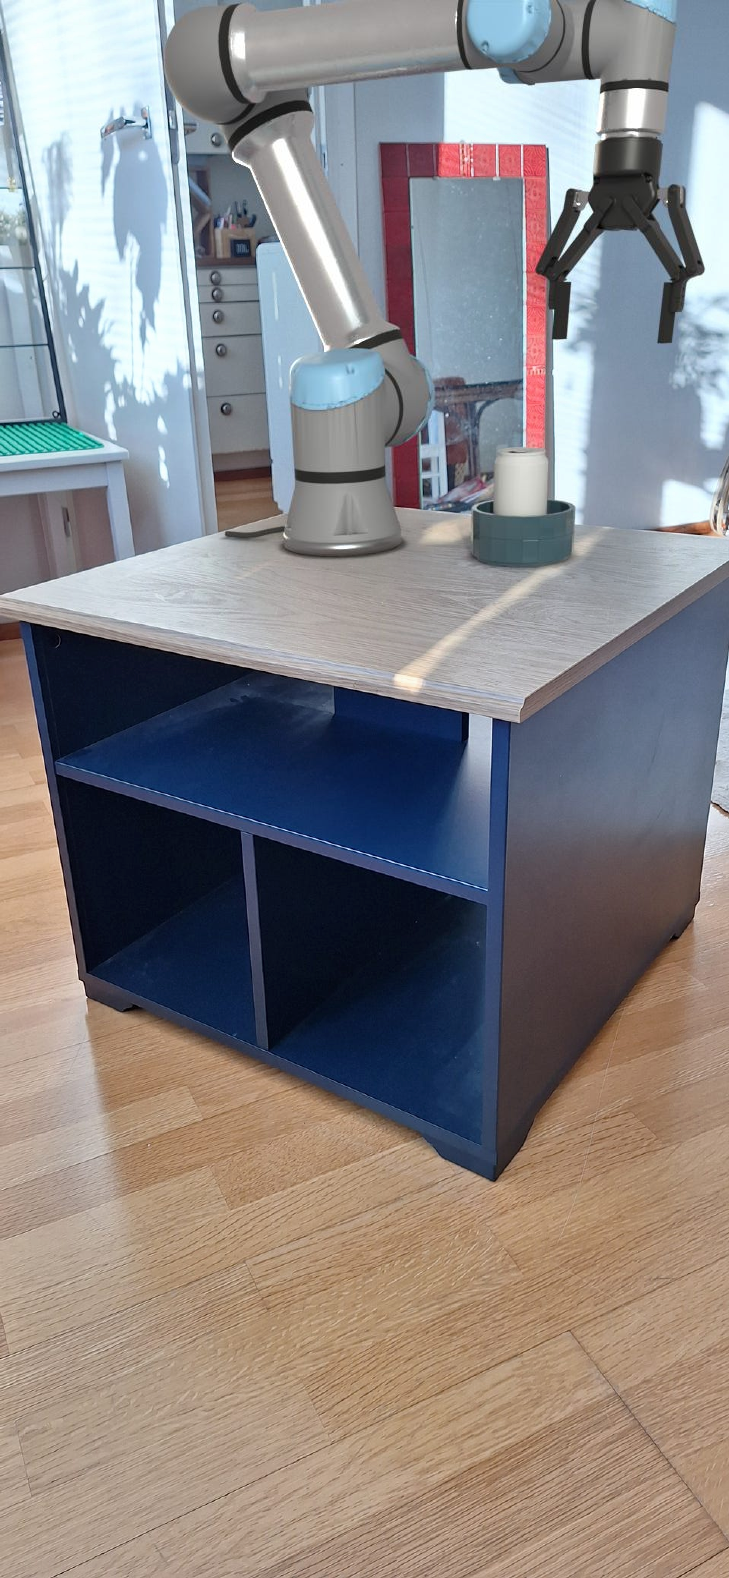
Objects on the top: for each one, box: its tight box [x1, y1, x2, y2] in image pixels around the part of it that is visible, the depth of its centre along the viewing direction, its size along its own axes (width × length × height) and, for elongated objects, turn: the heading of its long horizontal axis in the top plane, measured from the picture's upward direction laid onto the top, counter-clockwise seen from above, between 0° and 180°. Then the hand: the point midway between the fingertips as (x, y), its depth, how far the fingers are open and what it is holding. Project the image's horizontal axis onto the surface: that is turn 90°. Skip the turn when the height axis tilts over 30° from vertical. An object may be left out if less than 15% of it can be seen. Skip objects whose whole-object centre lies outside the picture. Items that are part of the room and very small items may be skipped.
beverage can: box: [493, 446, 550, 516], centre depth 133 cm, size 6×6×12 cm
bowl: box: [470, 498, 576, 568], centre depth 134 cm, size 12×12×6 cm
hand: (610, 341), depth 134 cm, fingers open, 13 cm apart
